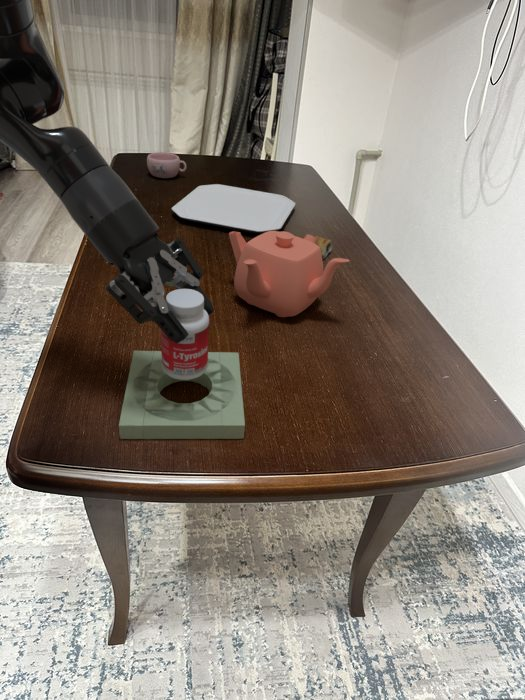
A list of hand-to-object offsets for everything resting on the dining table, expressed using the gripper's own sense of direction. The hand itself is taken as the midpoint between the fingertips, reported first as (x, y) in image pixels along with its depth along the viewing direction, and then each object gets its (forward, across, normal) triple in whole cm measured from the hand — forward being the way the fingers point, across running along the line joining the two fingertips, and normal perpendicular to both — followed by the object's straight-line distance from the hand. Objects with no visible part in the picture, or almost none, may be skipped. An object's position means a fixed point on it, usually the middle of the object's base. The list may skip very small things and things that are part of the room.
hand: (196, 326), depth 62 cm
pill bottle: (+4, 0, +6) cm, 8 cm away
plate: (-10, +71, +29) cm, 78 cm away
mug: (-32, +86, +51) cm, 105 cm away
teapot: (+10, +33, +9) cm, 35 cm away
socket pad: (+8, 0, +10) cm, 13 cm away
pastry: (+8, +59, +11) cm, 61 cm away
